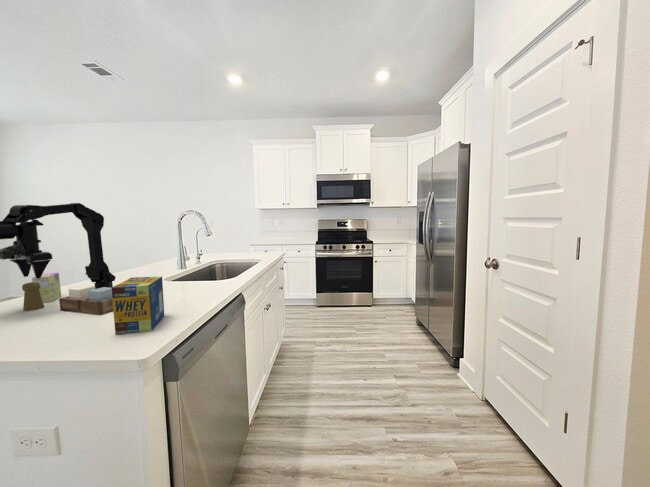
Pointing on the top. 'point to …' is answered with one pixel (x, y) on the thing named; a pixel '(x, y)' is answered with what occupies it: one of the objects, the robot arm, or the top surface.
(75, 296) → the cream block
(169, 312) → the top surface
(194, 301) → the top surface
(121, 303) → the protein box
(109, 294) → the slate key
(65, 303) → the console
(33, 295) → the cork
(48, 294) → the box
